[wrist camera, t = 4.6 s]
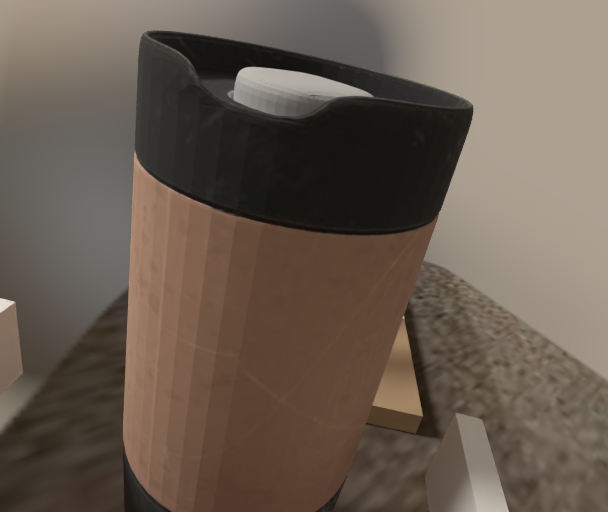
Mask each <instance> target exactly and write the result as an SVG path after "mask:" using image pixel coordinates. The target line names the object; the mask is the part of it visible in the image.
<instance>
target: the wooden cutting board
mask: <svg viewBox="0 0 608 512" xmlns="http://www.w3.org/2000/svg"><path fill="white" fill-rule="evenodd" d="M422 418H423V414H422V408H421V403H420V398H419V393H418V388H417V382H416V377H415V372H414V367H413V361H412V356H411V351H410V346H409V341H408V335H407V330H406V325H405V320H404V316H403V319H402V322H401V325H400V328H399V330H398V333H397V336H396V339H395V342H394V345H393V348H392V350H391V353H390V356H389V359H388V362H387V365H386V367H385V370H384V373H383V376H382V379H381V382H380V385H379V387H378V390H377V393H376V396H375V399H374V402H373V405H372V407H371V410H370V413H369V416H368V419H367V422H366V423H368V424H373V425H377V426H382V427H387V428H391V429H396V430H400V431H405V432H409V433H414V434H416V431H417V429H418V427H419V425H420V422H421V420H422Z"/></svg>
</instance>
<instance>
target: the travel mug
mask: <svg viewBox="0 0 608 512" xmlns="http://www.w3.org/2000/svg"><path fill="white" fill-rule="evenodd" d="M472 115H473V105H472V104H471V103H470V102H469V101H467V100H465V99H464V98H461V97H459V96H457V95H454V94H451V93H448V92H446V91H443V90H440V89H437V88H434V87H431V86H428V85H425V84H421V83H418V82H414V81H411V80H407V79H404V78H400V77H397V76H393V75H389V74H386V73H382V72H378V71H374V70H370V69H366V68H362V67H358V66H354V65H350V64H345V63H341V62H337V61H333V60H329V59H324V58H320V57H315V56H310V55H306V54H302V53H296V52H292V51H287V50H283V49H277V48H272V47H268V46H262V45H256V44H252V43H246V42H241V41H235V40H229V39H223V38H218V37H211V36H205V35H198V34H190V33H182V32H172V31H148V32H145V33H144V34H143V36H142V37H141V41H140V48H139V58H138V82H137V106H136V130H135V155H134V180H133V203H132V227H131V251H130V275H129V299H128V323H127V347H126V371H125V396H124V420H123V462H124V509H125V512H332V511H333V509H334V506H335V504H336V501H337V499H338V497H339V494H340V492H341V489H342V487H343V485H344V482H345V480H346V478H347V474H348V472H349V470H350V467H351V465H352V462H353V459H354V456H355V453H356V450H357V447H358V445H359V442H360V439H361V436H362V433H363V430H364V427H365V425H366V422H367V419H368V416H369V413H370V410H371V407H372V405H373V402H374V399H375V396H376V393H377V390H378V387H379V385H380V382H381V379H382V376H383V373H384V370H385V367H386V365H387V362H388V359H389V356H390V353H391V350H392V348H393V345H394V342H395V339H396V336H397V333H398V330H399V328H400V325H401V322H402V319H403V316H404V313H405V310H406V308H407V305H408V302H409V299H410V296H411V293H412V290H413V288H414V285H415V282H416V279H417V276H418V273H419V270H420V268H421V265H422V262H423V259H424V256H425V253H426V250H427V247H428V245H429V242H430V239H431V236H432V233H433V231H434V228H435V225H436V222H437V219H438V215H439V212H440V210H441V208H442V205H443V202H444V199H445V196H446V193H447V191H448V188H449V185H450V182H451V179H452V176H453V174H454V171H455V168H456V165H457V162H458V159H459V156H460V154H461V151H462V148H463V145H464V142H465V139H466V136H467V134H468V131H469V127H470V124H471V120H472Z"/></svg>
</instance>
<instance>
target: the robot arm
mask: <svg viewBox="0 0 608 512" xmlns="http://www.w3.org/2000/svg"><path fill="white" fill-rule="evenodd" d="M22 373H23V370H22V360H21V351H20V342H19V333H18V324H17V314H16V305H15V302H13V301H9V300H5V299H1V298H0V395H1V394H2V393H3V392H4V391H5V390H6V389H7V388H8V387H9V386H10V385H11V384H12V383H13V382H14V381H15V380H16V379H17V378H18V377H19V376H21V374H22ZM425 482H426V490H427V499H428V507H429V512H509V511H508V507H507V504H506V500H505V497H504V494H503V490H502V487H501V483H500V480H499V476H498V473H497V469H496V466H495V462H494V459H493V455H492V452H491V448H490V445H489V441H488V438H487V434H486V431H485V427H484V424H483V421H482V419H478V418H474V417H470V416H466V415H462V414H458V413H455V415H454V417H453V419H452V421H451V423H450V425H449V427H448V429H447V432H446V434H445V436H444V438H443V440H442V442H441V444H440V446H439V448H438V450H437V452H436V454H435V456H434V458H433V461H432V463H431V465H430V467H429V469H428V471H427V473H426V475H425Z"/></svg>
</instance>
